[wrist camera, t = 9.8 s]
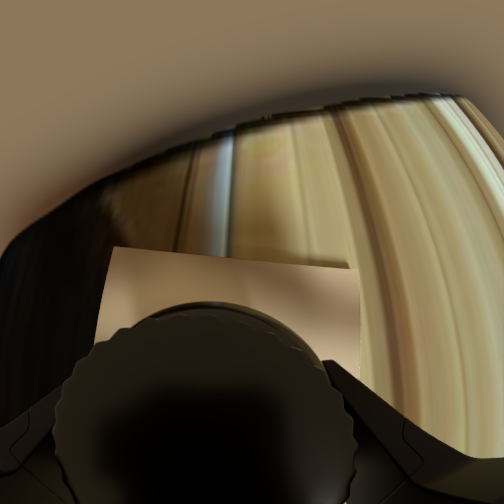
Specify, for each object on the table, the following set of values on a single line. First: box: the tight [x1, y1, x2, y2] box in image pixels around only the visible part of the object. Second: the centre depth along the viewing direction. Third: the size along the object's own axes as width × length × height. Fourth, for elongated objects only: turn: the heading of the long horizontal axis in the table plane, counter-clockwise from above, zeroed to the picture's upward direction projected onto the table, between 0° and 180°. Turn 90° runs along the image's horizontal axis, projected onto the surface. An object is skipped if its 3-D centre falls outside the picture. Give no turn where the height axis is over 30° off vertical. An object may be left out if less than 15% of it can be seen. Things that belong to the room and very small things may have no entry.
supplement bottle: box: [52, 301, 358, 504], centre depth 9 cm, size 7×7×12 cm
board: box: [94, 246, 361, 504], centre depth 15 cm, size 16×16×1 cm
